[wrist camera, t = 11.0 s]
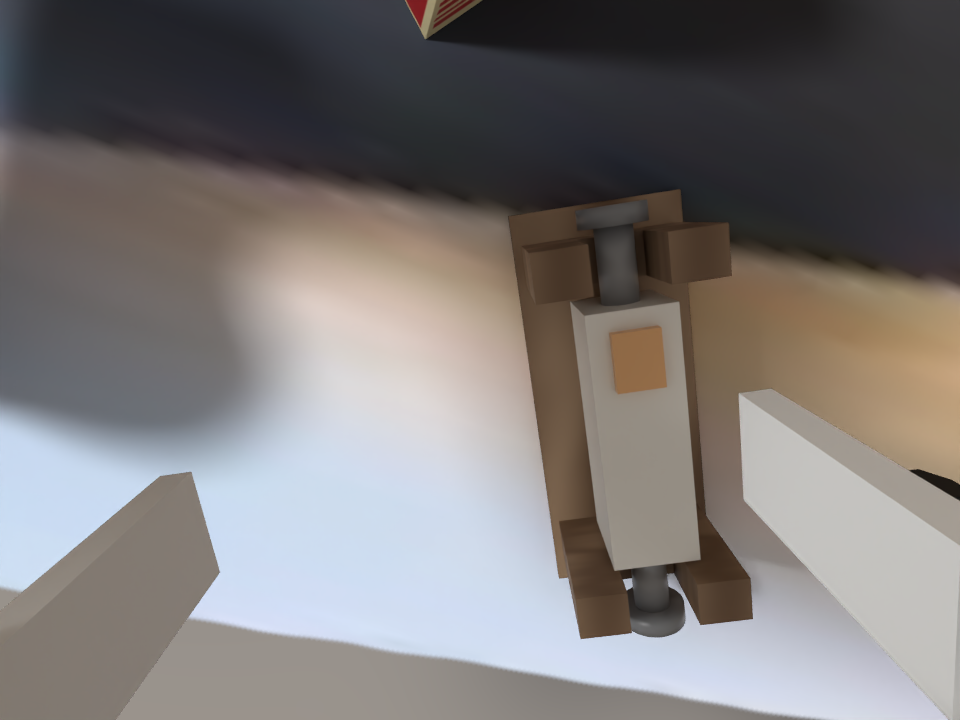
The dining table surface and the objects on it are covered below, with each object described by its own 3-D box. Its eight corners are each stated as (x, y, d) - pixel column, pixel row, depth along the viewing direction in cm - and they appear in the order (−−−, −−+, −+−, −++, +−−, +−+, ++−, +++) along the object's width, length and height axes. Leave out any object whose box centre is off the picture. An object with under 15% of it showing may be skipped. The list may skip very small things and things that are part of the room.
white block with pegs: (605, 591, 39) (626, 658, 33) (559, 213, 34) (573, 211, 28) (677, 582, 39) (711, 647, 33) (641, 199, 33) (674, 195, 27)
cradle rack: (558, 573, 41) (575, 668, 32) (508, 216, 36) (512, 215, 27) (706, 555, 41) (764, 647, 32) (677, 189, 35) (737, 179, 27)
